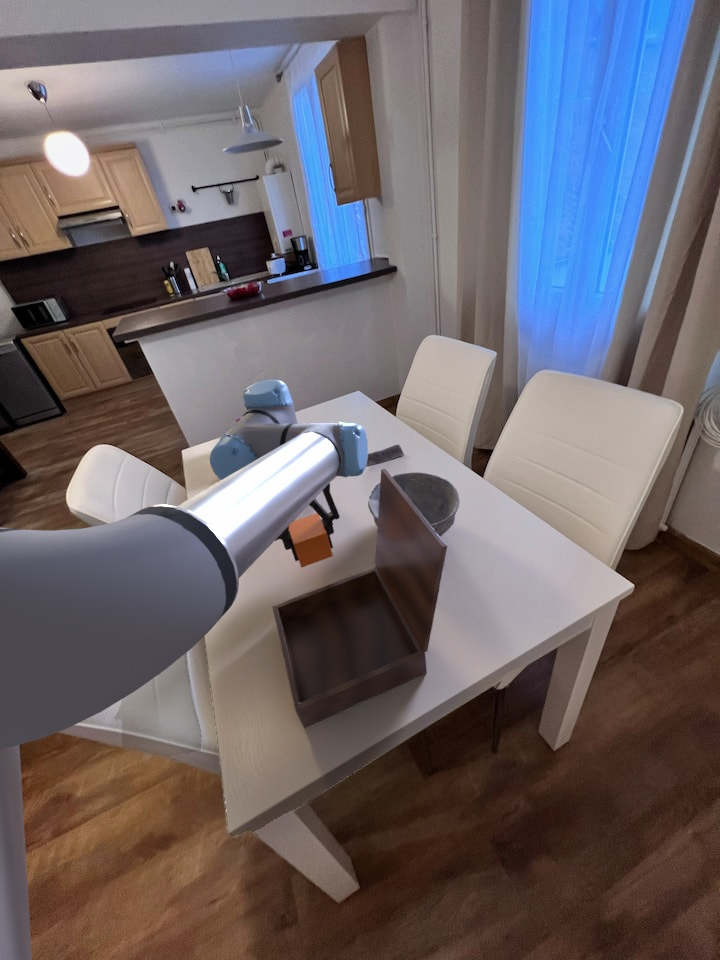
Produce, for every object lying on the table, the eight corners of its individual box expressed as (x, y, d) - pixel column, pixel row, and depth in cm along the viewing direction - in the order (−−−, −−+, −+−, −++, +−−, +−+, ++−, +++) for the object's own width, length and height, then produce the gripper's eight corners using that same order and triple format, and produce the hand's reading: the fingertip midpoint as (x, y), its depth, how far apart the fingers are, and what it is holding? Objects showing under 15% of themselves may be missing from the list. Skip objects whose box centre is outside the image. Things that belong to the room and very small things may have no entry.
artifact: (404, 455, 123) (403, 449, 122) (362, 468, 121) (361, 461, 120) (399, 450, 126) (399, 443, 125) (359, 462, 124) (357, 456, 123)
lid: (442, 547, 52) (469, 540, 54) (381, 469, 69) (403, 465, 70) (423, 653, 65) (445, 645, 66) (375, 565, 81) (394, 560, 82)
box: (304, 728, 64) (295, 711, 60) (280, 624, 80) (272, 606, 77) (426, 673, 68) (425, 654, 65) (380, 585, 85) (377, 566, 81)
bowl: (478, 535, 92) (480, 501, 86) (404, 576, 86) (400, 543, 80) (424, 491, 108) (422, 461, 102) (358, 524, 101) (352, 493, 95)
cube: (301, 567, 84) (293, 544, 80) (294, 546, 90) (286, 523, 86) (332, 556, 86) (326, 532, 82) (324, 535, 91) (317, 512, 87)
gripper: (332, 439, 79) (350, 525, 92) (231, 470, 75) (265, 555, 88) (344, 457, 73) (361, 546, 87) (235, 491, 69) (271, 579, 83)
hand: (312, 550), depth 88 cm, fingers closed on cube, 7 cm apart
